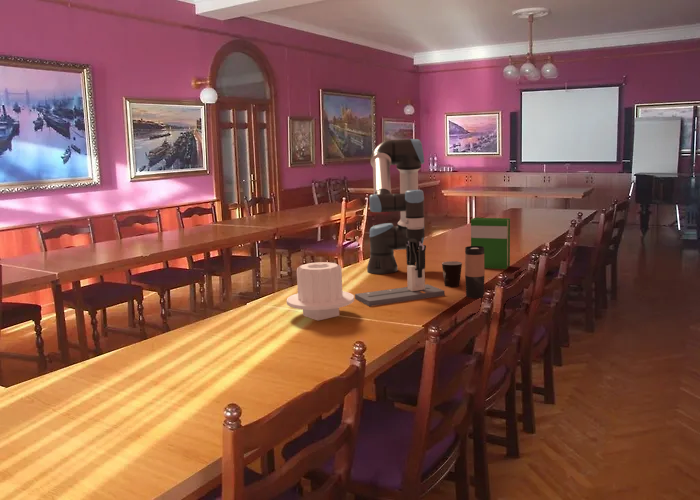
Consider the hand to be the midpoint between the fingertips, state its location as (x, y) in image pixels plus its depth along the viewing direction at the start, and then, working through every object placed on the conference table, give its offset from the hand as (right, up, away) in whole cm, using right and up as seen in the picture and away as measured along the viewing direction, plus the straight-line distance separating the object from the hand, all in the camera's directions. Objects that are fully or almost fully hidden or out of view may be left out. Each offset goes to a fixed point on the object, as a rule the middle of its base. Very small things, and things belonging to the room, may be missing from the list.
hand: (416, 283), depth 257 cm
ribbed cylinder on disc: (-38, -11, -25) cm, 47 cm away
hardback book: (+43, +5, +52) cm, 68 cm away
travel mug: (+23, -5, -5) cm, 24 cm away
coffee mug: (+18, -2, +16) cm, 24 cm away
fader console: (-7, -5, -2) cm, 9 cm away
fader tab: (0, -2, 0) cm, 2 cm away
